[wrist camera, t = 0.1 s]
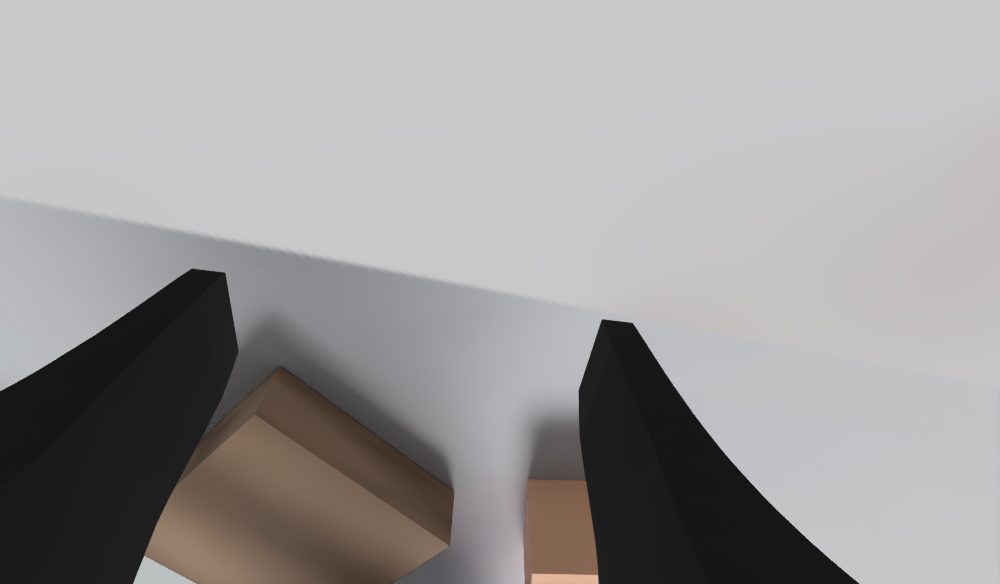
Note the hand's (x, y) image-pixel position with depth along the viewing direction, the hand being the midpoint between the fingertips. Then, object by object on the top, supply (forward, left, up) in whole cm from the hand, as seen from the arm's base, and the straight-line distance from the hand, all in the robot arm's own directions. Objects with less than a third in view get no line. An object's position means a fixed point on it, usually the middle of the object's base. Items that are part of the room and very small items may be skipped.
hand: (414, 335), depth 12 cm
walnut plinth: (-16, -6, -11) cm, 20 cm away
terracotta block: (-8, -16, -11) cm, 21 cm away
